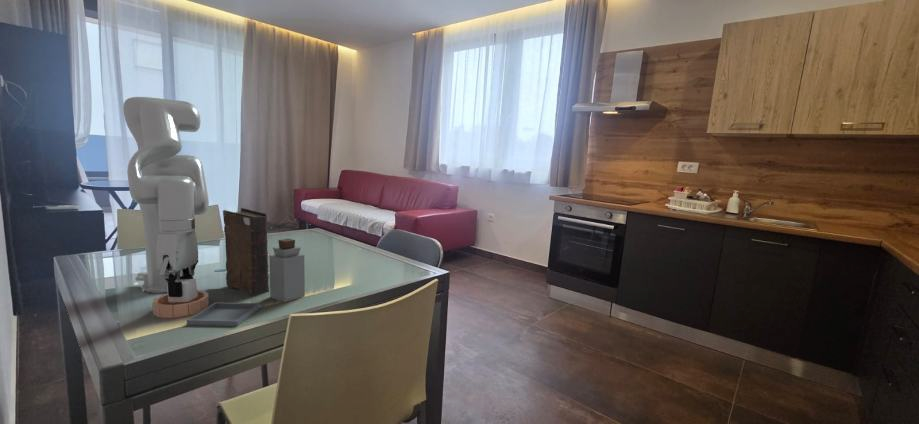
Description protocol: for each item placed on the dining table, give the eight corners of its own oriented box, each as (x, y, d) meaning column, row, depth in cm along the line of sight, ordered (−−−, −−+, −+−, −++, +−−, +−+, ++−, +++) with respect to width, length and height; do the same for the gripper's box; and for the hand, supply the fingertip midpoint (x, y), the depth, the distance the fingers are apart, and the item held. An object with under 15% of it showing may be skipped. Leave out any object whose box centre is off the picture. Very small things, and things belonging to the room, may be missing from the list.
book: (271, 294, 121) (269, 213, 118) (247, 299, 116) (244, 215, 112) (248, 281, 132) (245, 207, 128) (224, 286, 126) (221, 209, 123)
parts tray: (187, 328, 96) (186, 320, 96) (215, 309, 108) (215, 302, 108) (237, 329, 97) (237, 321, 96) (260, 310, 108) (260, 303, 108)
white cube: (168, 302, 103) (166, 283, 102) (178, 297, 107) (176, 279, 106) (188, 301, 103) (186, 283, 102) (197, 296, 107) (195, 278, 106)
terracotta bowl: (142, 320, 99) (141, 305, 99) (174, 302, 111) (173, 289, 111) (191, 321, 100) (190, 306, 99) (218, 303, 112) (217, 290, 111)
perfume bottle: (284, 305, 113) (283, 243, 111) (270, 299, 117) (269, 240, 114) (304, 298, 119) (304, 240, 116) (290, 293, 122) (289, 236, 120)
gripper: (183, 220, 110) (187, 283, 113) (138, 230, 94) (143, 304, 96) (211, 221, 111) (214, 284, 113) (170, 231, 94) (175, 305, 97)
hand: (181, 292), depth 105 cm, fingers closed on white cube, 4 cm apart
